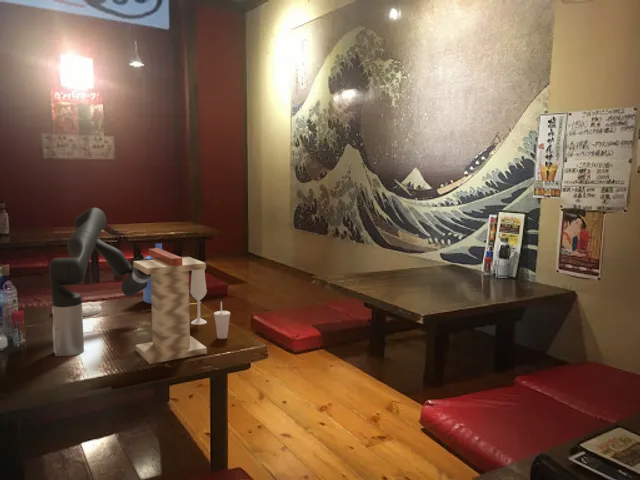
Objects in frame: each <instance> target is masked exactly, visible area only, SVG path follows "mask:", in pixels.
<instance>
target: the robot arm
mask: <svg viewBox="0 0 640 480" xmlns="http://www.w3.org/2000/svg"><path fill="white" fill-rule="evenodd" d="M106 225H107V215H106V214H105V212H104V211H103V210H102V209H100V208H98V207H90V208H88V209H86V210H85V211H84V212H82V213H80V214H79V215H78V216H76V217H75V219H74V226H75V228H76V229H75V230H74V231H73V232H72V234H71V235H70V238H69V239H68V240H67V241H68V242H67V244H66V250H67V252H68V253H69V255H70V256H71V257H55V258H52V259H51V260H50V263H49V265H48V266H49V268H48V272H49V274H48V275H49V276H48V277H49V283H50V292H51V293H50V294H51V301H52V302H51V304H52V310H53V313H52V321H53V323H52V324H53V325H52V343H53V344H52V345H53V346H52V347H53V348H52V349H53V353H54V355H55V357H70V356H75V355H79V354H81V353H83V352H84V351H85V343H84V342H85V341H84V321H83V319H84V318H83V317H84V316H82V303H83V299H82V298H83V297H82V294H80V293H78V292H74V291H72V290H70V289H68V288H66V287H65V286H66V285H67V286H71V285H79V284H81V283H83V282H84V279H85V276H86V273H87V269H88V266H89V262H90V259H91V256H92V254H93V252H94V250H95V251H97V252H98V253H99V255H101V257H103V259H104V260H105V262H107V264H108V266H109V267H110V268H111V269H112V271H113V273H114V274H115V275H116V276H117V277H123V276H126V275H129V276H127V277H126V278H125V279H124V280H123V282H121V285H120V289H121V291H122V293H123V295H124V296H127V297H134V296H135V295H137V294H138V293H140V292H142V291H143V289H144V288H146V287H147V281H148V280H149V279H150V278H151V274H145V273H144V272H142V271H140V270H138V269H136V268H135V267H134V264H133V261H142V260H155V258H151V259H148V258H145V257H144V253H140V254H139V255H138V256H137V257H136V258H134V257H133V258H130V260H129V261H128V259H127V258H126V256H125V254H124V253H123V252H122V251H121V250H120V249H118V248H116V247H115V246H113V245H109V244H107V243H106V242H104V241H103V240H101V239H99V237H100V234H101V233H102V231H103V229H104V228H105V227H106Z"/></svg>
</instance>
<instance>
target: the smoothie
mask: <svg viewBox="0 0 640 480" xmlns="http://www.w3.org/2000/svg"><path fill="white" fill-rule="evenodd" d="M230 316H231V312H230V311H228V310H223V301H220V310H219V311H218V310H217V311H214V313H213V317H214V322H215V329H216V330H215V331H216V336H217V339H219V340H223V339H224V340H225V339H227V338H228V333H229V325H230V324H229V323H230V318H231V317H230Z"/></svg>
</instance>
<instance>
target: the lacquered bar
mask: <svg viewBox="0 0 640 480" xmlns="http://www.w3.org/2000/svg"><path fill="white" fill-rule="evenodd" d="M148 256H151V257H153V258H155V259H158V260H160V261H162V262H164V263H166V264H168V265H171V266H180V265H182V258H181V257H182V256H179V255H177V254H173V253H171V252H168V251H167V250H163V249H162V250H161V249H159V248H155V247H154V248H148Z"/></svg>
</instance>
